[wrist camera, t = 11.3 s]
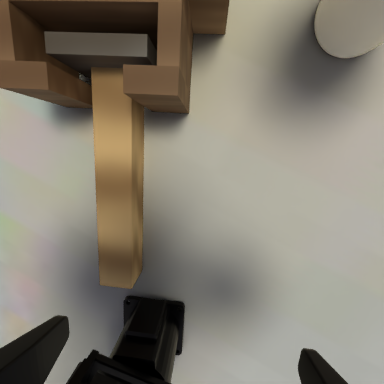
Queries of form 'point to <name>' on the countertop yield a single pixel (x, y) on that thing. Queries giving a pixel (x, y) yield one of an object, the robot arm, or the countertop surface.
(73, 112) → the countertop surface
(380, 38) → the white cylinder
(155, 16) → the walnut box
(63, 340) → the robot arm
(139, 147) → the hammer
